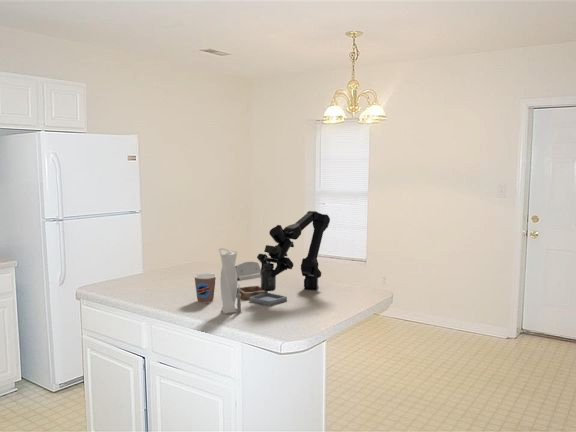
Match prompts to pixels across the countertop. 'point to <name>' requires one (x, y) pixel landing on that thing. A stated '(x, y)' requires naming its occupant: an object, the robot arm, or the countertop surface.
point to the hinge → (248, 270)
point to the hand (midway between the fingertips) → (266, 275)
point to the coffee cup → (205, 287)
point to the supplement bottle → (268, 278)
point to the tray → (268, 299)
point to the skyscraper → (229, 283)
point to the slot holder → (250, 291)
